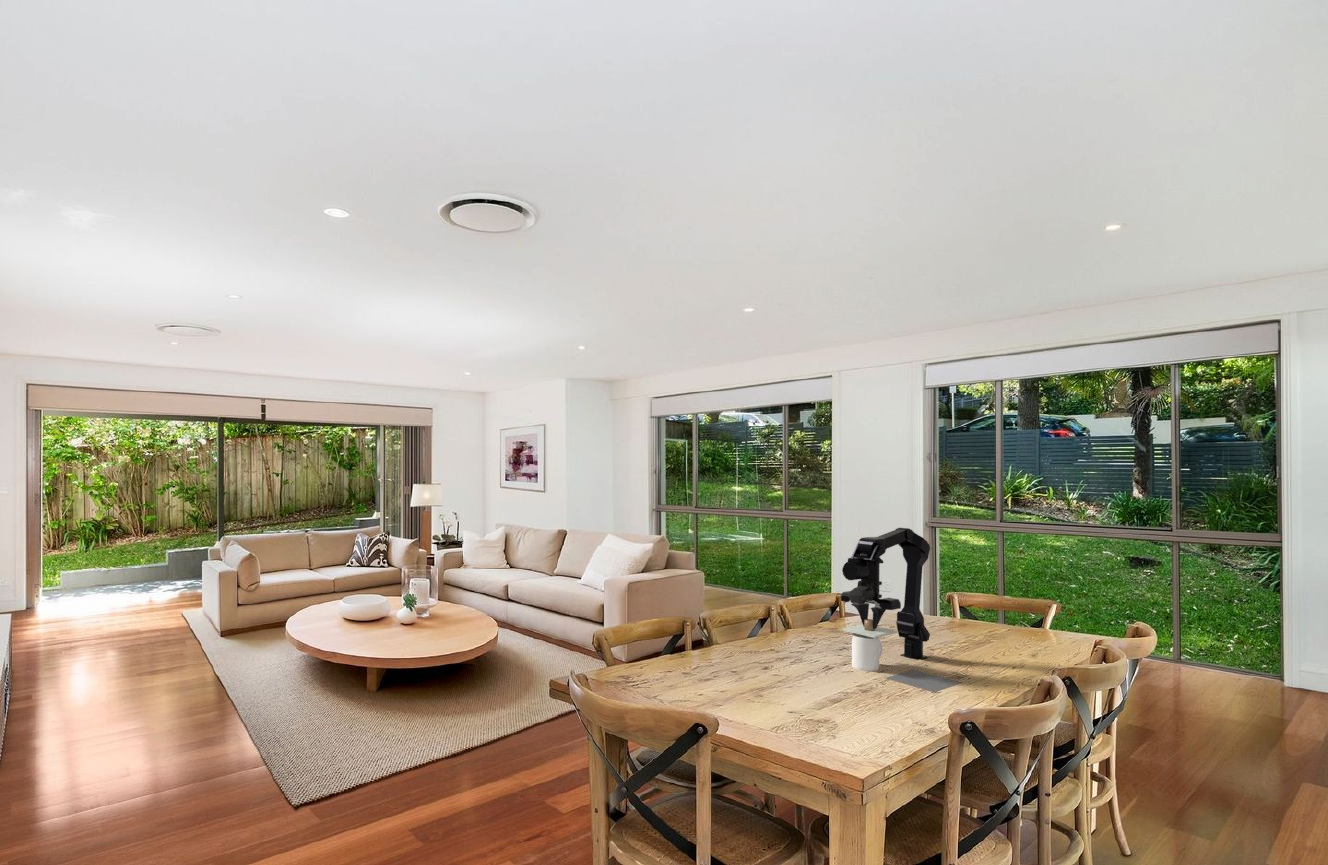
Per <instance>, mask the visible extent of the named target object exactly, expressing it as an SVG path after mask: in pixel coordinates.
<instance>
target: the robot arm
mask: <svg viewBox="0 0 1328 865" xmlns="http://www.w3.org/2000/svg"><path fill="white" fill-rule="evenodd" d="M896 545H898V546H899V547H900V548H901V549H902V557H903V559H904V560H905V563H906V575H905V589H904V590H905V591H904V602H903V608H902V609H901V606H902V604H901V601H900V600H899V598H892V597H884V598H883V594H881V593H880V586H882V585H883V581H881V580H880V564H884V560H883V559H882V558H881V556H883V555H884V554H885V553H886V552H887V549H889V548H892V547H895V546H896ZM930 550H931V546H930V543H928V541H927V540H926V539H925V538H924V537H923V536H921V535H919V534H917V532H916V533H915V531H914V530H913V529H911V528H908V527H898V528H897V527H896V528H895V529H894V530H891V531H889V532H886V533H883V534H881V535H878V536H867V537H861V538H859V540H858V542H857V544H856V546H855V548H854V550H853V552H852V555H851V557H848V558H847V562H845V563H844V564H843V567H842V571H841V572H842V575H843V577H844V578H845V579H846V580H848V581H856V580H857V581H858V582H857V586H856V587H854V588H853V589H851V590H848V591H843V592H842V593H841V594H840V601H841V602H845V603H849V602H850V603H851V606H853V607H854V608H855V609H856V610H857V612H858V616H859V617H860V620H861V623H862V624H863V626H864V620H865V619H869V610H870V609H871V611H872V620H873V629H876V628H877V627H879V623H880V621H881V619H882V618H883V615H884V613H885V612H886V610H887V611H893V610H894V611H895V610H899V609H901V610H900V611H897V613H896V621H895V624H896V630H897V634H898V638H904V642H903V644H904V645H903V648H904V650H903V653H902V654H900V657H904V658H909V659H912V660H916V661H917V660H924V659H927V658H928V656H927V655H924V642H928V641H929V640H930V637H931V636H930V635H931V634H930V632H929V630H928V629H927V627H926V625H925V618H924V615H923V613H922V611H921V609H920V607H921V606H920V605H921V595H922V592H921V591H922V580H923V566H924V565H925V564H926V563H927V561H928V559H929V555H930ZM870 604H874V606H873V607H870Z"/></svg>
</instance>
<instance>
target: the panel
mask: <svg viewBox="0 0 1328 865" xmlns="http://www.w3.org/2000/svg"><path fill="white" fill-rule="evenodd" d="M841 631H844V632H848V633H852V634H853V633H856V634H860V635H864V636H869V637H873V638H877V637H879V638H881V637H885V636H890V635H895V634H898V630H894V629H890V628H885V627H881V626H880V627H879V626H877V628H876V629H873V618H871V619H869V618H868V619H865V620H864V626H863V623H862V624H857V625H852V626H847V627H843V628H842V629H841Z"/></svg>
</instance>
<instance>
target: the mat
mask: <svg viewBox="0 0 1328 865" xmlns="http://www.w3.org/2000/svg"><path fill="white" fill-rule="evenodd" d="M885 679H886V680H889V681H894V682H897V683H900V684H904V685H908V686H910V687H915V688H917V689H922V690H925V691H929V692H932V693H938V692H940V691H943V690H945V689H948V688H949V689H950V688H952V687H954V686H958V685H960V684H963V683H964V682H963V681H960V680H956V679H953V678H949V677H944V676H940V675H936V674H933V673H929V672H925V671H923V670H917V669H910V670H907V671H904V672H900V673H897V674H894V675H891V676H887V677H885Z"/></svg>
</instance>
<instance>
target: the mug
mask: <svg viewBox="0 0 1328 865" xmlns="http://www.w3.org/2000/svg"><path fill="white" fill-rule="evenodd" d="M882 653H883V644H882V641H881V639H880V637H877V638H873V637H869V636H864V635H860V634H856V633H852V634H851V666H852V668H853V669H855V670H859V671H864V672H877V671H879V670H880V659H881V657H882V656H883V655H882Z"/></svg>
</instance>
